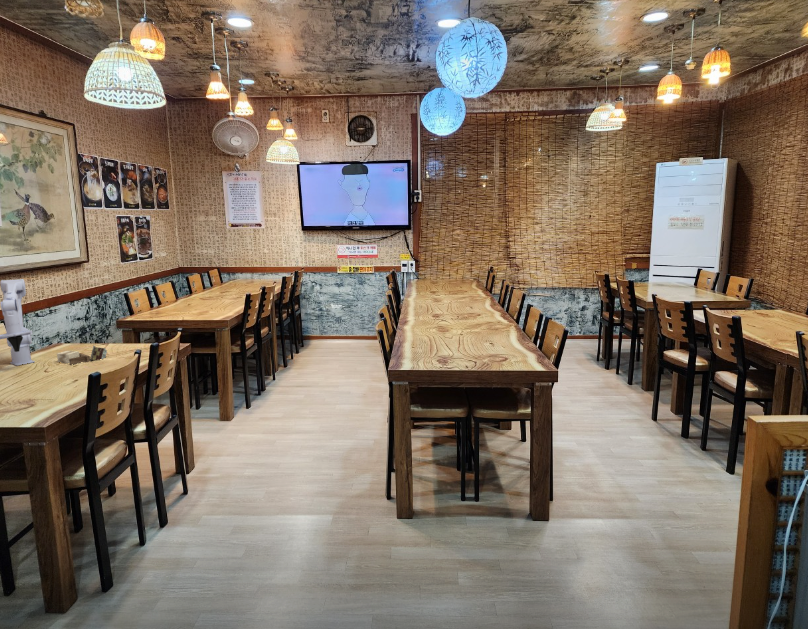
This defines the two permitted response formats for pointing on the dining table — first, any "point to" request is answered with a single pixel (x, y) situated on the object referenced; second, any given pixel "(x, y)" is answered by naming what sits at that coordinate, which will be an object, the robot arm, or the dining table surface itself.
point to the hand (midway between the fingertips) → (17, 351)
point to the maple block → (67, 356)
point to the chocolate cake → (98, 353)
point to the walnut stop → (79, 359)
